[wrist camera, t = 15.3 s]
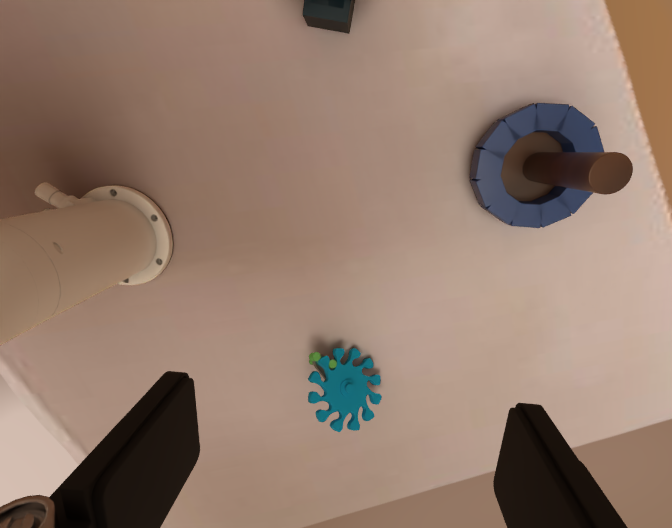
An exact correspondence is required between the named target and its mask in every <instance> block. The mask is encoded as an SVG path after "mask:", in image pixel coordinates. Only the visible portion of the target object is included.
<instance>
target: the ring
mask: <svg viewBox="0 0 672 528" xmlns="http://www.w3.org/2000/svg"><path fill="white" fill-rule="evenodd" d="M594 125H595V123H594V122H592V121H591V120H590V119H588V118H587V117H586V116H585V115H583V114H582V113H581V112H579V111H578V110H577V109H576V108H574V107H573V106H569V105H567V104H548V103H536V104H532V105H528V106H525V107H523V108H520V109H518V110H516V111H514V112H512V113H510V114H508V115H506V116H504V117H502V118H500V119H498V120H497V122H494V123H493V124H492V126H491V127H490V128H489V130H488V131H487V132H486V134H485V135H484V136H483V137H482V139H481V140H480V141H479V143H478V144H477V145H476V148H477V149H475V150H474V154H473V160H472V166H471V171H470V178H473V179H471V180H470V182H471V185H472V187H473V190H474V192H475V195H476V198H477V200H478V203H479V204H480V205H481V207H482V208H484V209H485V210H487V211H488V212H489V213H491V214H492V215H494V216H495V217H496V218H498V219H499V220H501V221H502V222H504V223H506V224H508V225H511V226H520V227H533V228H540V226H541V227H545V226H548V225H550V224H552V223H555V222H557V221H559V220H562V219H564V218H567V217H569V216H571V213H572V214H574V213H575V212H576V211H577V210H578V209H579V208H580V206H581V205H582V204H583V203H584V202H585V201H586V200H587V199H588V198H589V197H590V195H591V194H592V193H593V192H588V191H582V190H577V189H571V188H566V187H560V186H555V187H554V188H553V189H552V190H551V191H550V192H549V194H547V195H545V196H542V197H540V198H538V199H535V200H533V201H531V202H529V201H518V200H516V199H515V198H513V197H512V196H511V195H509V194H508V193H507V192H506V189H505V186H504V184H503V181H502V178H501V171H502V166H503V161H504V156H505V155H506V154H507V152H508V151H509V150H510V149H511V147H512V146H513V145H514V144H515V142H516V141H517V140H518V139H520V138H522V137H524V136H526V135H528V134H530V133H532V132H543V133H547V134H549V135H550V136H551V137H553V138H554V139H555V140H557V141H558V142H559V143H561V147H562V150H563V152H604V149H603V146H602V142H601V139H600V135H599V132H598V129H597V126H594ZM593 126H594V127H593Z"/></svg>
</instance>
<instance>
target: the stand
mask: <svg viewBox="0 0 672 528" xmlns="http://www.w3.org/2000/svg"><path fill="white" fill-rule="evenodd" d="M533 104H534V103H533ZM529 105H532V104H529ZM632 171H633V167H632V163H631V161H630V159H629V158H628V157H627V156H626V155H624V154H622V153H617V152H563V150H562V147H561V143H559V142H558V141H557V140H555V139H554V138H553V137H551V136H550V135H549V134H547V133H543V132H532V133H530V134H528V135H526V136H524V137H522V138H520V139H518V140H517V141H516V142H515V144H514V145H513V146H512V147H511V149H510V150H509V151H508V152H507V154H506V155H505V156H504V161H503V166H502V171H501V178H502V181H503V184H504V186H505V189H506V192H507V193H508V194H509V195H511V196H512V197H513V198H515V199H516V200H518V201H529V202H531V201H533V200H535V199H538V198H540V197H542V196H545V195H547V194H549V192H550V191H551V190H552V189H553V188H554V187H555V186H560V187H566V188H571V189H577V190H582V191H588V192H593V193H599V194H612V193H615V192H617V191H619V190H621V189H622V188H623V187H624V186H626V184H627V183H628V182H629V180H630V178H631V176H632Z"/></svg>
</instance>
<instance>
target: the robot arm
mask: <svg viewBox="0 0 672 528" xmlns="http://www.w3.org/2000/svg"><path fill="white" fill-rule="evenodd" d="M35 195H36V196H37V197H39V198H41V199H42V200H44V201H46V202H47V203H49V204H52V205H54V206H56V207H57V208H58V209H53V210H51V209H50V208H46V209H44V210H43V211H42V212H36V213H30V214H25V215H19V216H14V217H8V218H3V219H0V345H2V344H4V343H6V342H7V341H9V340H11V339H13V338H15V337H17V336H18V335H20V334H22V333H24V332H26V331H28V330H30V329H31V328H33V327H35V326H37V325H39V324H41V323H43V322H45V321H47V320H49V319H50V318H52V317H54V316H56V315H58V314H60V313H62V312H64V311H66V310H68V309H70V308H72V307H73V306H75V305H77V304H79V303H81V302H83V301H85V300H87V299H89V298H91V297H93V296H94V295H96V294H98V293H100V292H102V291H104V290H106V289H108V288H110V287H112V286H114V285H116V284H121V285H139V284H143V283H146V282H148V281H150V280H152V279H154V278H155V277H157V276H158V275H160V274H161V273H162V271H163V270H164V269H165V268H166V266H167V265H168V263H169V261H170V258H171V255H172V248H173V240H172V233H171V230H170V226H169V224H168V222H167V219H166V217H165V216H164V214H163V213H162V211H161V210H160V208H159V207H158V206H157V205H156V204H155V203H154V202H153V201H152V200H151V199H150V198H148V197H147V196H146V195H144V194H143V193H141V192H139V191H137V190H135V189H132V188H129V187H125V186H117V185H113V186H104V187H99V188H96V189H94V190H92V191H89V192H88V193H87V194H85V195H84V196H83V197H82V198H81V199H78V198H77V197H75V196H72V195H70V196H67V195H66V194H64V193H62V191H60V190H58V189H57V188H55V187H54V186H52V185H50V184H49V183H47V182H45V183H41V184H40V185H38V186H37V188H36V190H35ZM157 217H158V218H157ZM199 453H200V443H199V433H198V422H197V411H196V400H195V389H194V381H193V379H192V378H189V376H188V374H187V373H183V372H172V371H168V372H166V373H164V374H163V376H162V377H161V378H160V379H159V380H158V381H157V382H156V383H155V384H154V385H153V386H152V387H151V389H150V390H149V391H148V392H147V393H146V394H145V395H144V396H143V397H142V398H141V399H140V400H139V401H138V403H137V404H136V405H135V406H134V407H133V408H132V409H131V410H130V411H129V412H128V413H127V414H126V416H125V417H124V418H123V419H122V420H121V421H120V422H119V423H118V424H117V425H116V426H115V427H114V428H113V429H112V430H111V431H110V432H109V433H108V435H107V436H106V437H105V438H104V439H103V440H102V441H101V442H100V443H99V444H98V445H97V446H96V448H95V449H94V450H93V451H92V452H91V453H90V454H89V455H88V456H87V457H86V458H85V459H84V460H83V462H82V463H81V464H80V465H79V466H78V467H77V468H76V469H75V470H74V471H73V472H72V474H71V475H70V476H69V477H68V478H67V479H66V480H65V481H64V482H63V483H62V484H61V485H60V487H58V489H57V490H56V491H55V492H54V493H53V494H52V495H51V496H50V497H46V496H42V495H35V496H27V497H23V498H20V499H17V500H14V501H12V502H10V503H8V504H6V505H3V506H2V507H0V528H160V527H161V525H162V523H163V522H164V520H165V518H166V516H167V514H168V513H169V511H170V509H171V507H172V505H173V504H174V502H175V500H176V498H177V497H178V495H179V493H180V491H181V489H182V488H183V486H184V484H185V482H186V480H187V479H188V477H189V475H190V473H191V471H192V470H193V468H194V466H195V464H196V462H197V460H198V457H199ZM494 492H495V495H496V498H497V501H498V503H499V506H500V509H501V511H502V514H503V517H504V520H505V523H506V525H507V528H627V526H626V525H625V523H624V522H623V521H622V519H621V518H620V516H619V515H618V513H617V512H616V510H615V509H614V508H613V506H612V505H611V503H610V502H609V500H608V499H607V497H606V496H605V495H604V493H603V491H602V490H601V488H600V487H599V486H598V484H597V483H596V481H595V480H594V478H593V477H592V475H591V474H590V472H589V471H588V470H587V468H586V467H585V466H584V464H583V463H582V462H581V461H579V460H578V458H577V457H576V455H575V454H574V452H573V451H572V450H571V448H570V447H569V445H568V444H567V442H566V441H565V439H564V438H563V436H562V435H561V433H560V432H559V430H558V429H557V427H556V426H555V425H554V423H553V422H552V420H551V419H550V417H549V416H548V414H547V413H546V411H545V410H544V408H543V407H542V406H541V405H537V404H526V403H518V404H517V405H516V407H515V408H510V410H509V414H508V418H507V423H506V427H505V431H504V436H503V440H502V445H501V449H500V454H499V458H498V463H497V467H496V472H495V476H494Z"/></svg>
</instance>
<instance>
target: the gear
mask: <svg viewBox="0 0 672 528" xmlns="http://www.w3.org/2000/svg"><path fill="white" fill-rule="evenodd" d="M344 353H345V351H344V349H342V348H335V349H333V355H334V360H330V359H329V357H328V356H324V355H322V354H320V353H318V352H314V353H311V354H310V355H309V359H310V360H309V363H310V364H311V365H314V366H315V367H316V369H317V370H318V371H319V372H320V374H321V375H322V376H323V377H324V379H325V381H324V382H322V381H321V377H320V374H319V373H318V372H317V371H313V372H312V373H311V374H310V376H309V378H308V380H309V381H310V382H312V383H317V384H318V385H320V386H321V387H322V389H323V390H324V395H323V396H322V397H321V396H320V395H319V394H318V393H317V392H309V396H308V402H309V403H317V402H319V401H325V402H328V404H329V409H328V410H326V411H325V410H317V411H316V417H317V419H318V420H319V421H320V422H324V421H326V419H327V418H328V416H329V415H330V414H332V413H333V412H336V411H338V412H339V418H338V419H336V420H333V421H332V422H331V423H330V427H331V428H332V429H333V430H335V431H337V432H340V431H341V430H342V428H343V421H344V419H345V417H346V416H347V415H348V414H349V413H351V414H352V418H351V420H350V421H349V422H348V424H347V428H348V429H350V430H359V429H360V424H359V422H358V411H359V408H360V407H361V406H362V408H363V412H362V418H363V420H364V421H369V420H371V419H372V418H373V417H374V413H373V412H372V411H371V410H370V409H369V407H368V406H367V402H366V396H367V395H369V397H370V401H371V403H372V404H379V402H380V400H381V398H382V396H381V395H380V394H376V393H374V392H372V391H371V390H370V389H369V388H368V387H367V382H368V381H370V382H371V384H373V385H380V381H381V379H380V375H372V376H370V377H368V376H365V375H363V374H362V369H363V368H366V369H369V368H373V366H374V365H373V362H372V360H371V358H366V359H364V360H363V362H362V363H361V364H360V365H358V366H356V367H354V366H353V364H352V361H353V359H356V358H359V357H360V355H361V353H360V352H359V351H358V350H357V349H355V348H352V349H350V351H349V356H348V359H347V361H346V362H345V363H344V364H343V365H342V364H341V363H340V359H341V357H342V356H343V355H344Z"/></svg>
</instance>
